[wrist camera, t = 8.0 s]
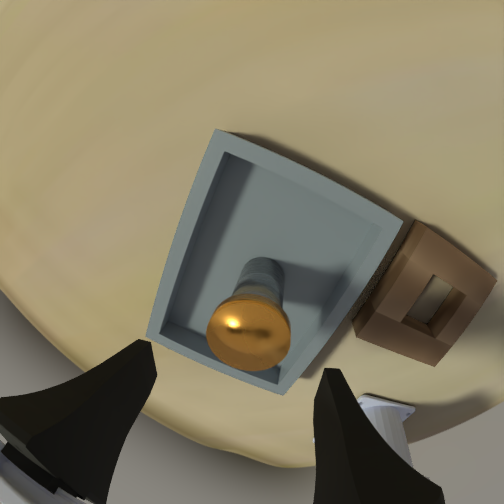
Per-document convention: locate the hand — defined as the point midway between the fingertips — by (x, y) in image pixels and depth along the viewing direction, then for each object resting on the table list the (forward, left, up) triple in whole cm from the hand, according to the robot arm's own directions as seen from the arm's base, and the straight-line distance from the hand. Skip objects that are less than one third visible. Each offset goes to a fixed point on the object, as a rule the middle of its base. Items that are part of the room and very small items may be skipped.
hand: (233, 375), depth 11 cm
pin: (0, 0, -9) cm, 9 cm away
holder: (+4, -12, -10) cm, 16 cm away
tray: (0, 0, -10) cm, 10 cm away
